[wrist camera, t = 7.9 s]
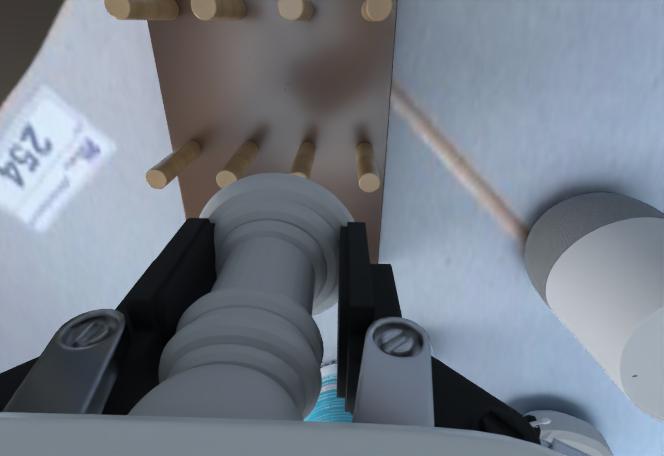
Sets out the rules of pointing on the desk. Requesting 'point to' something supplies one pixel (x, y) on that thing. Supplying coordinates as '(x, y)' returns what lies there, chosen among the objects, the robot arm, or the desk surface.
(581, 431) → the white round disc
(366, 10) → the plate rack
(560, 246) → the smart speaker
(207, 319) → the chess piece
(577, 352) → the desk surface
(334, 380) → the pill bottle
